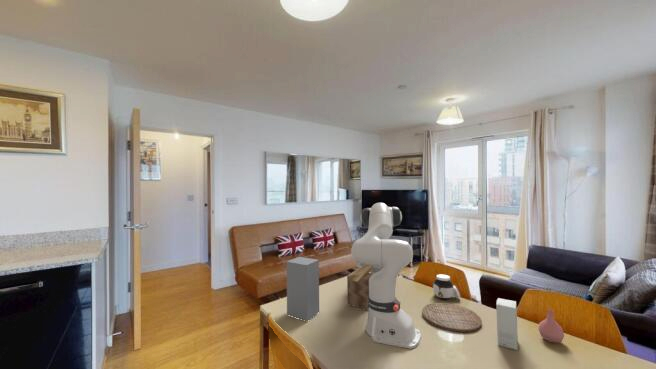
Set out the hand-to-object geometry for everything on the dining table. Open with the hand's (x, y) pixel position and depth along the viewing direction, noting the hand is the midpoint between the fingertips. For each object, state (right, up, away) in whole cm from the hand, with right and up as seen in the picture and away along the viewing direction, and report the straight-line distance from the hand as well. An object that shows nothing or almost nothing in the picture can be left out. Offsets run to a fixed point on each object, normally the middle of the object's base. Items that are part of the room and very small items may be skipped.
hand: (369, 261), depth 147 cm
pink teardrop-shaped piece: (+65, -18, -44) cm, 81 cm away
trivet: (+34, -19, -26) cm, 47 cm away
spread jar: (+43, -19, -3) cm, 47 cm away
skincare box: (+47, -18, -45) cm, 68 cm away
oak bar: (-5, -4, -9) cm, 11 cm away
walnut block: (-5, -19, -10) cm, 22 cm away
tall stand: (-35, -19, -21) cm, 45 cm away
